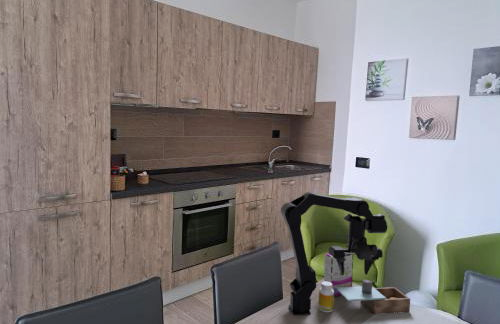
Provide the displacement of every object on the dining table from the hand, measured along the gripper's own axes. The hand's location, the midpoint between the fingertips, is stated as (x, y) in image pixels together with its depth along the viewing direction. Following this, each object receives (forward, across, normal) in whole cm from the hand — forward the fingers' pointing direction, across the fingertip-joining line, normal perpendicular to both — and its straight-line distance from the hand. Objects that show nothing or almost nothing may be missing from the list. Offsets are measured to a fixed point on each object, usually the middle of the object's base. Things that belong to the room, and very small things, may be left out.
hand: (354, 274), depth 129 cm
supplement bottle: (+13, -10, 0) cm, 16 cm away
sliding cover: (+7, +3, 0) cm, 8 cm away
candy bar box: (+13, 0, +13) cm, 18 cm away
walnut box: (+13, +13, 0) cm, 18 cm away
